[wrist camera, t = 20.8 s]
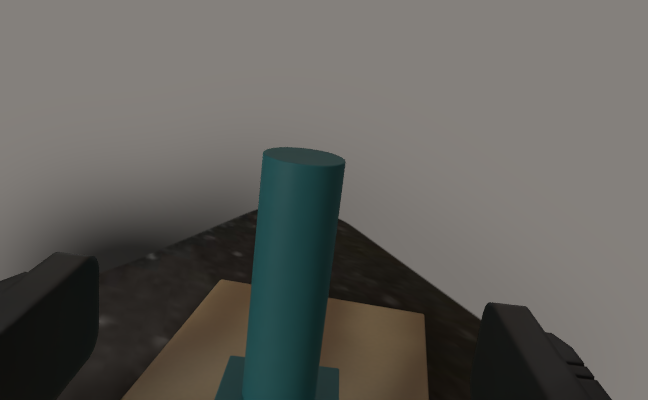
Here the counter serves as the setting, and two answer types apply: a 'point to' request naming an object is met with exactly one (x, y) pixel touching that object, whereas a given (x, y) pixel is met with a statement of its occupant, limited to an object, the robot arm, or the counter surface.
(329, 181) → the dish brush
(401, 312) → the birch board
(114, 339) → the counter surface
